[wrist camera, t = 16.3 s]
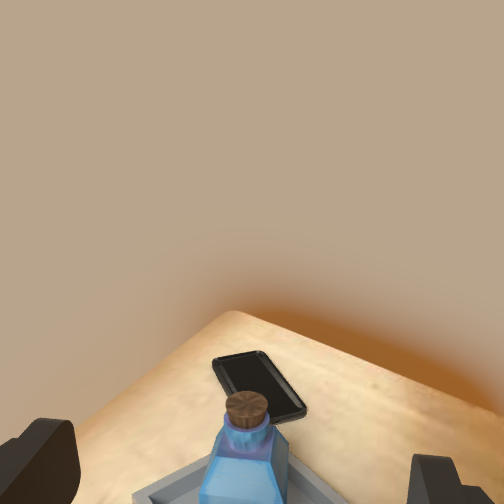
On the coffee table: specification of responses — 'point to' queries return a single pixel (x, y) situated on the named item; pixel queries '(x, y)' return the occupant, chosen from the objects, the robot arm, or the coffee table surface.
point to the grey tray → (190, 477)
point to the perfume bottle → (246, 456)
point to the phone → (260, 384)
